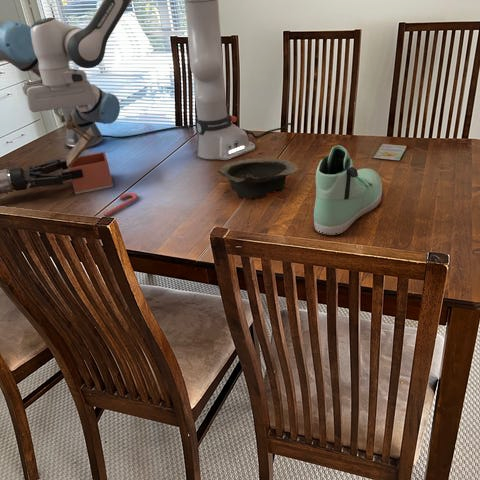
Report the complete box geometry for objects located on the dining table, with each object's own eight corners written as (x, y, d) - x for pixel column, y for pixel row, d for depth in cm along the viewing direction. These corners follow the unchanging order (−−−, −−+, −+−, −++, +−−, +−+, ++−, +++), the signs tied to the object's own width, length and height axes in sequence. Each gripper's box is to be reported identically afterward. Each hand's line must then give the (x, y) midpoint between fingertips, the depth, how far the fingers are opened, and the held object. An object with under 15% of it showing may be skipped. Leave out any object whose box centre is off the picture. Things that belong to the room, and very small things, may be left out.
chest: (110, 176, 172) (104, 151, 167) (113, 186, 164) (107, 161, 159) (74, 183, 169) (67, 158, 164) (75, 194, 161) (68, 168, 156)
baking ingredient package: (373, 156, 168) (382, 143, 180) (373, 158, 168) (382, 144, 180) (399, 159, 165) (407, 145, 176) (399, 160, 165) (406, 146, 176)
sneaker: (389, 187, 148) (396, 123, 138) (356, 242, 123) (361, 168, 112) (346, 181, 154) (350, 119, 144) (306, 232, 129) (307, 161, 118)
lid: (92, 128, 162) (70, 111, 157) (95, 136, 154) (71, 119, 149) (68, 158, 164) (45, 142, 159) (69, 168, 156) (45, 152, 151)
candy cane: (93, 214, 147) (92, 209, 146) (129, 194, 157) (128, 190, 156) (106, 218, 144) (105, 214, 143) (142, 198, 154) (141, 194, 153)
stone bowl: (243, 213, 140) (240, 183, 136) (209, 189, 160) (205, 162, 156) (313, 190, 149) (312, 161, 144) (272, 170, 169) (270, 144, 165)
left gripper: (17, 178, 168) (82, 166, 173) (13, 204, 150) (86, 190, 155) (10, 158, 164) (77, 146, 169) (5, 182, 146) (80, 168, 151)
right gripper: (20, 83, 141) (33, 129, 148) (90, 74, 146) (100, 119, 154) (21, 79, 146) (33, 123, 154) (89, 70, 152) (98, 113, 159)
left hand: (81, 167), depth 162 cm, fingers closed on chest, 10 cm apart
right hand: (67, 121), depth 154 cm, fingers closed
